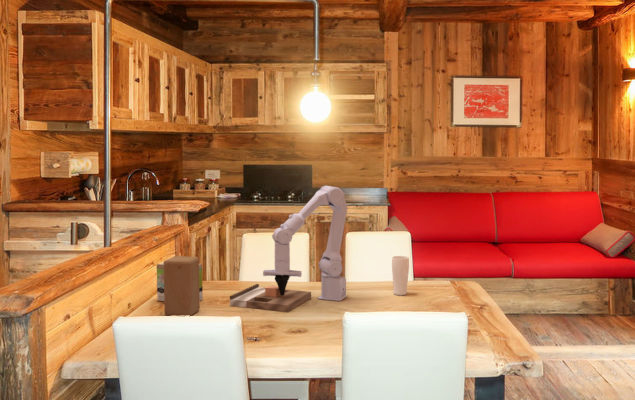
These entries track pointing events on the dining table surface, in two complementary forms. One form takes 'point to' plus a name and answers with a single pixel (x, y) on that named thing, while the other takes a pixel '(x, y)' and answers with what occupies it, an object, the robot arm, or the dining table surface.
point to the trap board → (268, 299)
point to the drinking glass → (400, 274)
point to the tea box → (161, 282)
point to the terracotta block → (272, 291)
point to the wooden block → (181, 285)
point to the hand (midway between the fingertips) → (282, 294)
